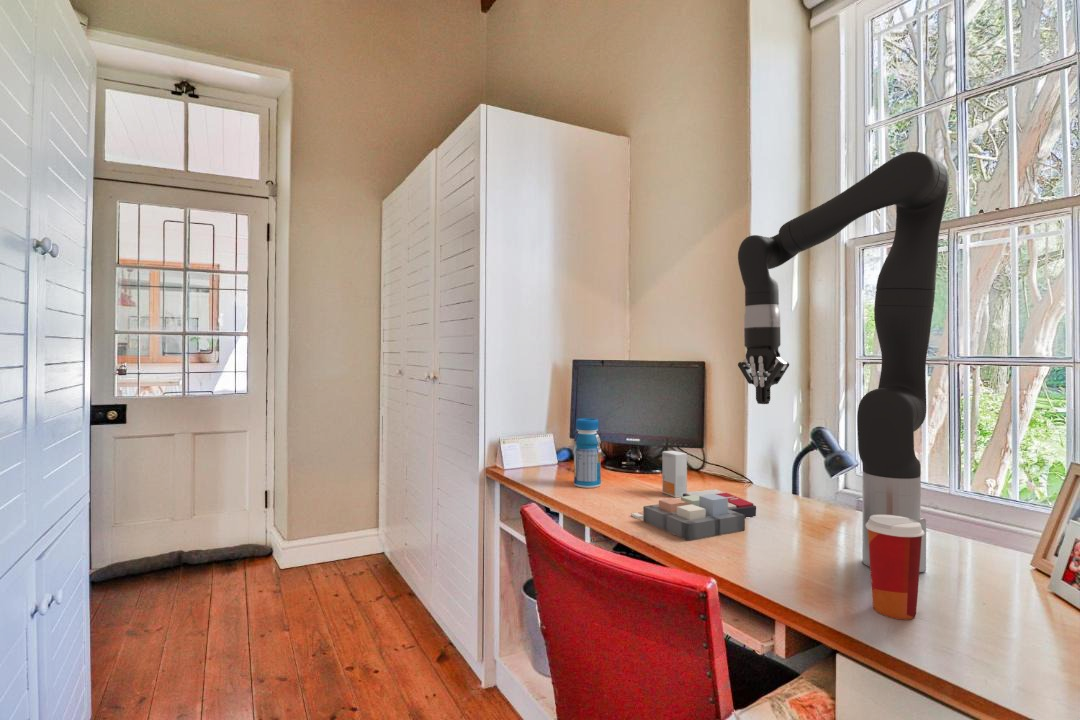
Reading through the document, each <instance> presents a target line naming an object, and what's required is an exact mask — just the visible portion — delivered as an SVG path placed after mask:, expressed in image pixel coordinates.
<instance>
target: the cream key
mask: <svg viewBox="0 0 1080 720" xmlns="http://www.w3.org/2000/svg"><path fill="white" fill-rule="evenodd" d="M677 516H680V517H683V518H685V519H688V520H695V519H701V518H706V509H704V508H701V507H698V506H695V505H693V504H691V505H685V506H678V507H677Z"/></svg>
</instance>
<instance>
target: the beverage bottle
mask: <svg viewBox="0 0 1080 720" xmlns="http://www.w3.org/2000/svg"><path fill="white" fill-rule="evenodd" d="M575 429H576V431H577V433H576V434H575V436H574V439H573V444H574V447H573V451H572V452H573V467H574V469H573V472H574V473H573V475H574V477H573V484H574V486H576V487H578V488H583V489H594V488H599V487H600V486H601V485H602V478H601V469H602V468H601V454H602V448H601V443H602V442H601V441H602V440H601V437H600V435H599V433H598V432H597V431H599V418H592V417H591V418H590V417H589V418H587V417H583V418H582V417H581V418H577V419H576V420H575Z"/></svg>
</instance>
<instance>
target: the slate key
mask: <svg viewBox="0 0 1080 720" xmlns="http://www.w3.org/2000/svg"><path fill="white" fill-rule="evenodd" d="M699 507H701V508H704V509H706V514H707V515H710V516H719V515H725V514H728V498H726V497H723V496H720V495H716V494H709V495H702V496H699Z"/></svg>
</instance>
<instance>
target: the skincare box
mask: <svg viewBox="0 0 1080 720" xmlns="http://www.w3.org/2000/svg"><path fill="white" fill-rule="evenodd" d="M661 453H662V458H661V459H662V462H661V463H662V467H661V468H662V469H661V470H662V473H661V474H662V476H661V478H662V481H661V483H662V487H661V488H662V494H665V495H668V496H671V497H672V498H675V499H678V498H681V497H683V494H685V493H687V492H688V478H687V477H688V467H687V466H688V453H686V452H681V451H677V450H664V451H662V452H661Z"/></svg>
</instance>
